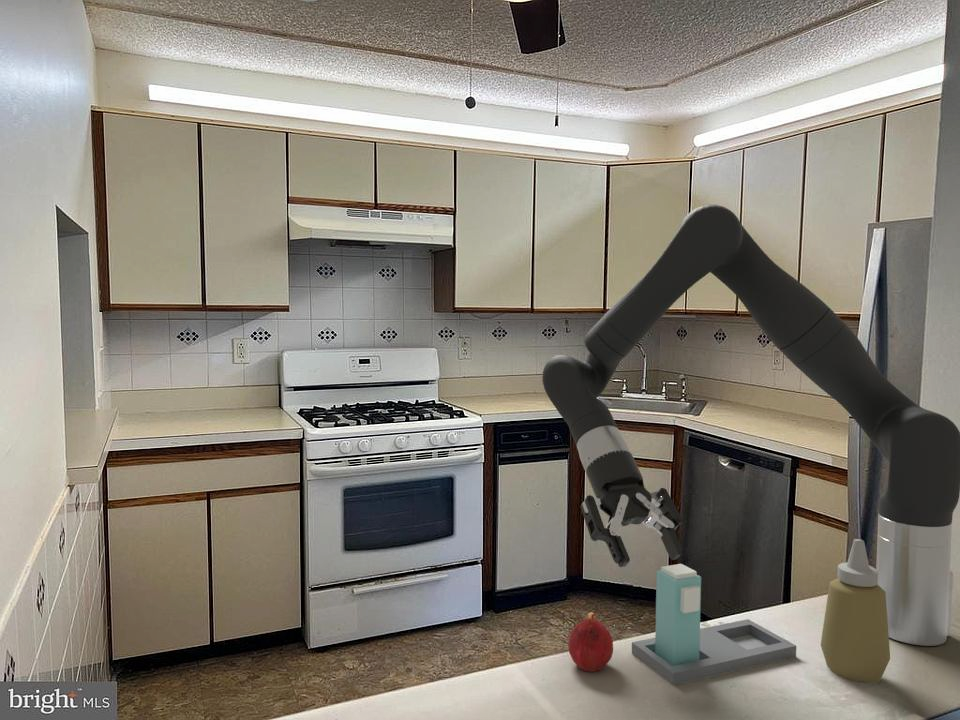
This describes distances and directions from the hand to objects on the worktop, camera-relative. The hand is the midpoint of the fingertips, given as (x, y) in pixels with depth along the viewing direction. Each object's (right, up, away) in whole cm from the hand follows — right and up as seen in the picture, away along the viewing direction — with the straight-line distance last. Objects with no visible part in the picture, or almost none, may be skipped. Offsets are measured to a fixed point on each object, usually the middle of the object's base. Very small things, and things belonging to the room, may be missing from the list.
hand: (651, 560), depth 99 cm
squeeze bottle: (+25, -13, -6) cm, 29 cm away
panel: (+8, -13, -3) cm, 15 cm away
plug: (+2, -12, -5) cm, 13 cm away
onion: (-9, -13, -6) cm, 17 cm away
